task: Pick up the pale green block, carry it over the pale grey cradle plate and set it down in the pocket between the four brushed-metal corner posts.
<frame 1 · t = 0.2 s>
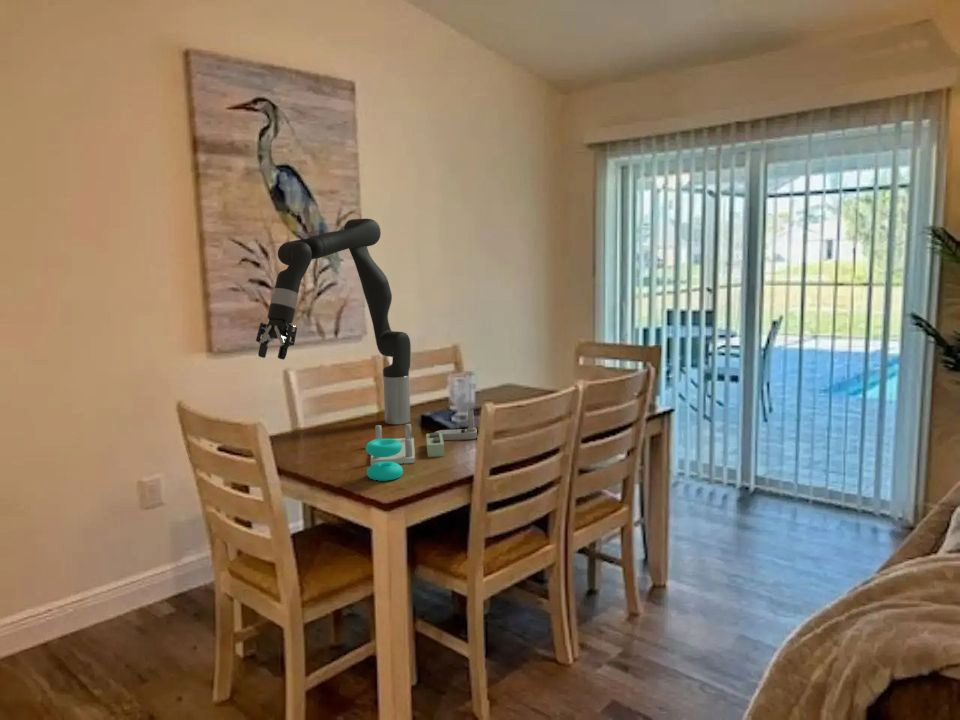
hand: (271, 358, 223), 31 cm above the table, tool tilted 20°, fingers open, 8 cm apart
donuts: (385, 477, 209), on the table
electronic device: (457, 439, 250), on the table
pale green block: (435, 451, 235), on the table
cradle: (393, 453, 233), on the table
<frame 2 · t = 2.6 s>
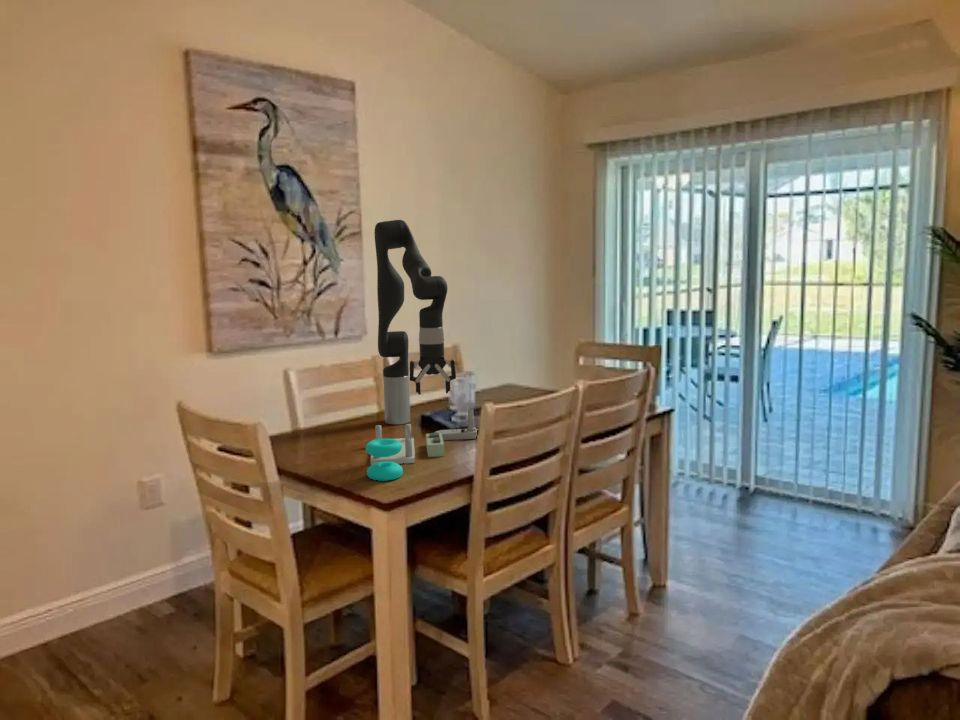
hand: (433, 393, 232), 18 cm above the table, tool pointing down, fingers open, 8 cm apart
nothing on the table moved.
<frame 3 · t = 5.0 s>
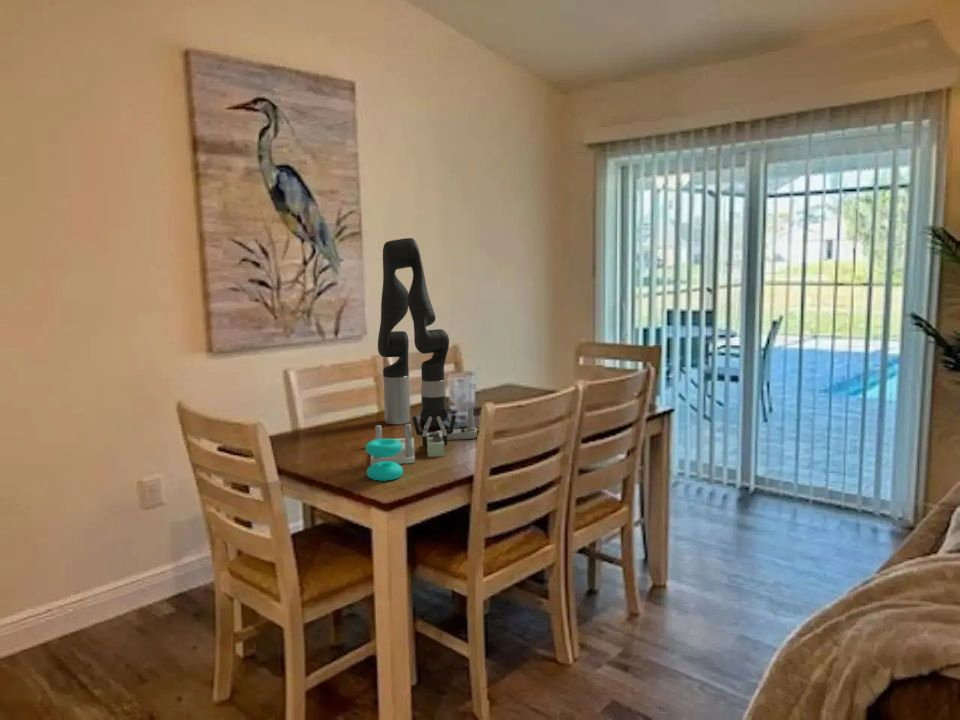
hand: (434, 447, 235), 1 cm above the table, tool pointing down, fingers closed on pale green block, 5 cm apart
pale green block: (435, 450, 235), on the table, touching gripper
everything else where it was.
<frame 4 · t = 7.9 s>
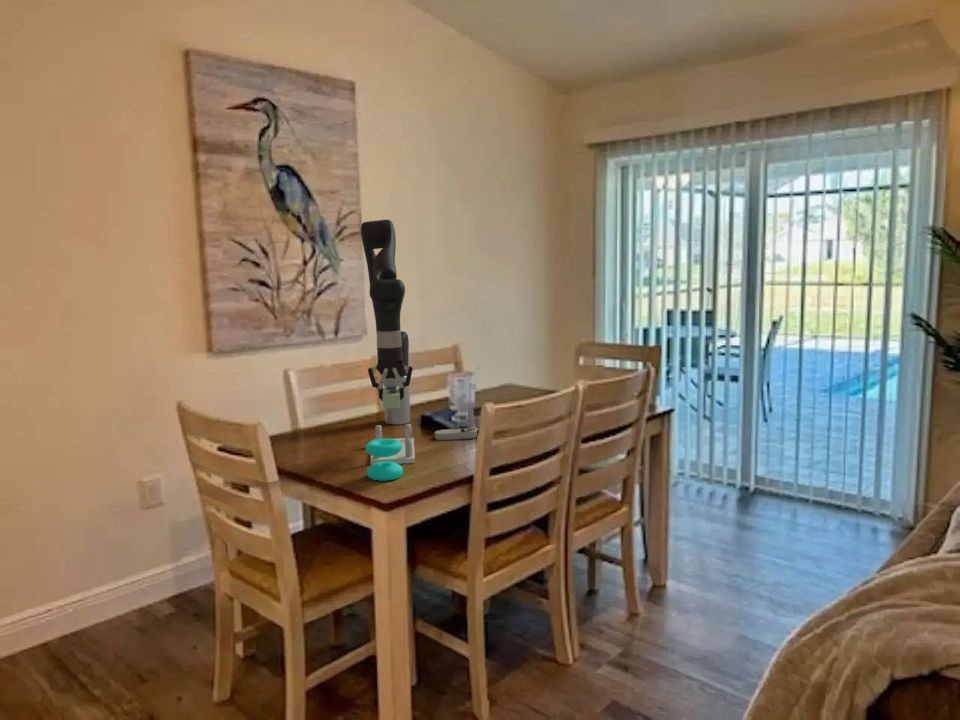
hand: (391, 399, 230), 17 cm above the table, tool pointing down, fingers closed on pale green block, 5 cm apart
pale green block: (391, 403, 230), point 16 cm above the table, touching gripper
everything else where it was.
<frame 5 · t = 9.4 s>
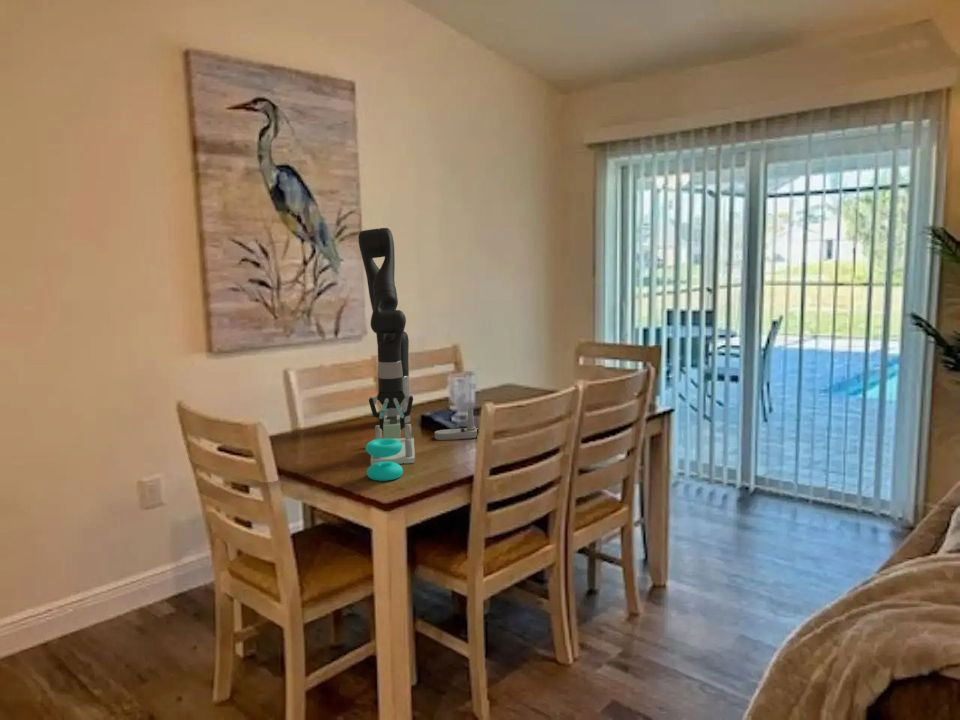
hand: (392, 429, 232), 8 cm above the table, tool pointing down, fingers closed on pale green block, 5 cm apart
pale green block: (392, 432, 232), point 6 cm above the table, touching gripper
everything else where it was.
when the fingers open (4 cm above the table, at t = 10.6 s): pale green block drops 1 cm, resting on cradle.
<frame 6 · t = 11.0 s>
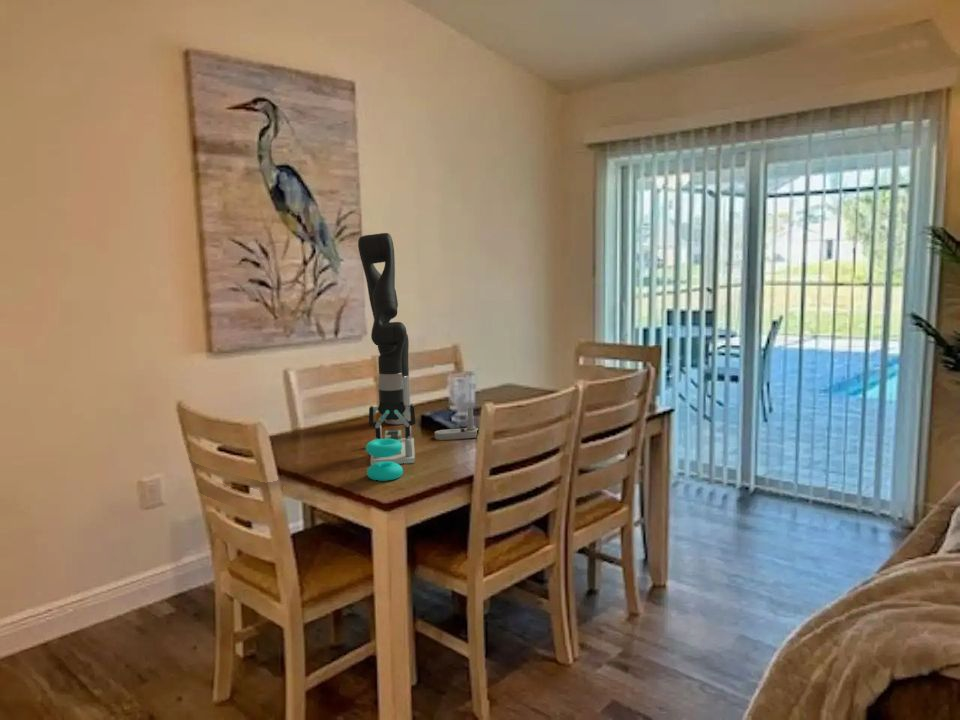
hand: (392, 438, 232), 5 cm above the table, tool pointing down, fingers open, 8 cm apart
pale green block: (393, 448, 233), point 1 cm above the table, touching cradle
everything else where it was.
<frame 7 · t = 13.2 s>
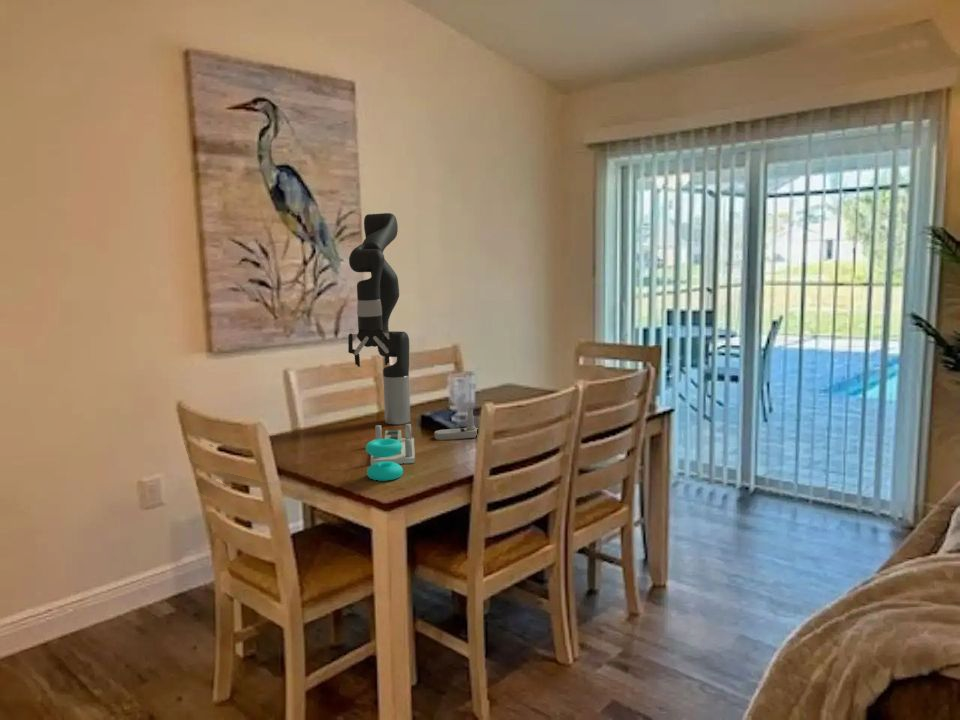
hand: (372, 365, 235), 27 cm above the table, tool pointing down, fingers open, 8 cm apart
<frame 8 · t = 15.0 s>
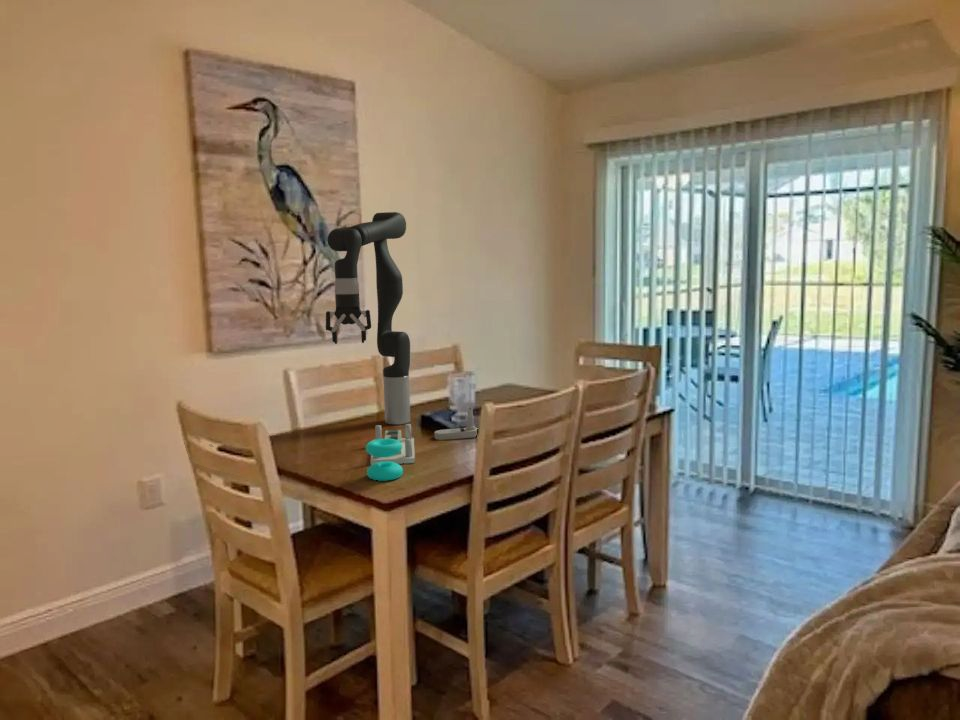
hand: (349, 343, 240), 33 cm above the table, tool pointing down, fingers open, 8 cm apart
at the end: pale green block 0.1 cm off-centre on the cradle, point 1.5 cm above the cradle's base; pale green block tilted 0°; the gripper is holding nothing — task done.
